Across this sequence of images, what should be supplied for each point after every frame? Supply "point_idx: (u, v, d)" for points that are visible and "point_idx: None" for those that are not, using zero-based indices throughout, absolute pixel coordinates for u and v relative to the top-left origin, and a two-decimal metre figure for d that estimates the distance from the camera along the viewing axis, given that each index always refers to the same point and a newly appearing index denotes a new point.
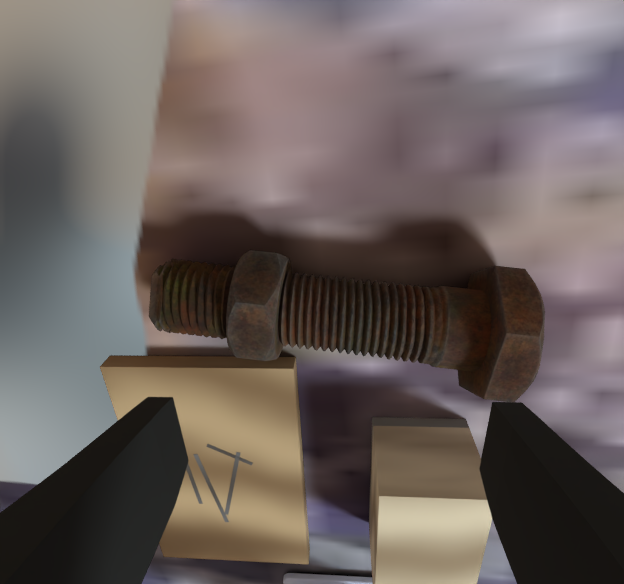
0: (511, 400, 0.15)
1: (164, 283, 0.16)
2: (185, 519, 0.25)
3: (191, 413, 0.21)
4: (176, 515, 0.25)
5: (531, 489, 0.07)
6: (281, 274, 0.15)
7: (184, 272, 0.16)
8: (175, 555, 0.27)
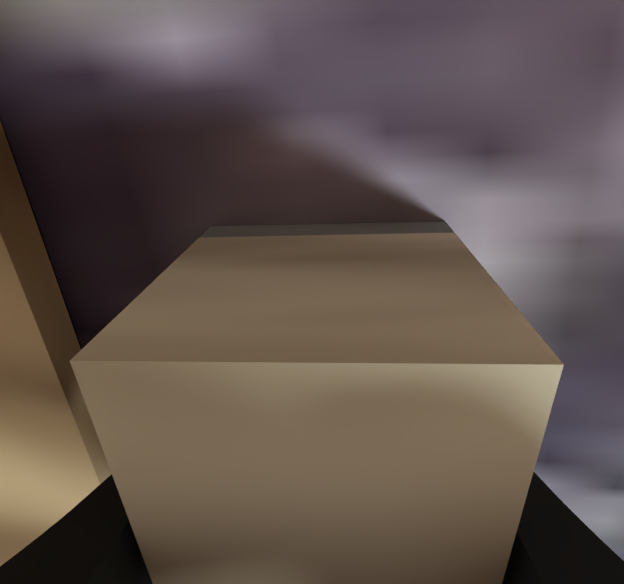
0: None
1: None
2: None
3: None
4: None
5: None
6: None
7: None
8: None
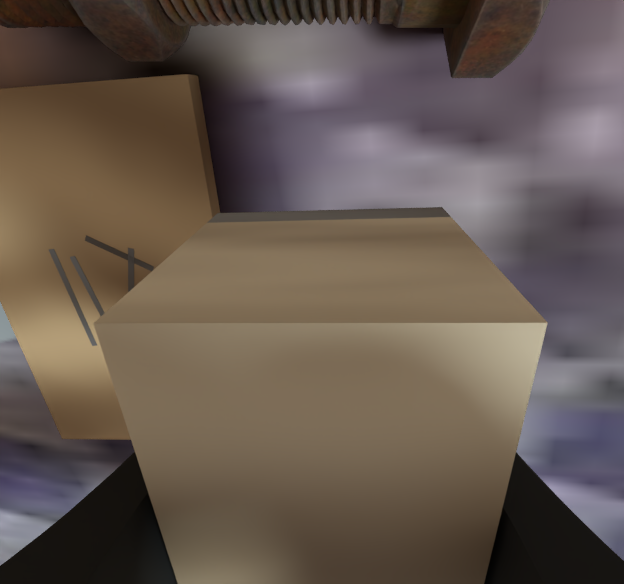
0: None
1: None
2: (78, 374, 0.19)
3: (53, 178, 0.15)
4: (65, 368, 0.19)
5: None
6: None
7: None
8: (76, 435, 0.20)
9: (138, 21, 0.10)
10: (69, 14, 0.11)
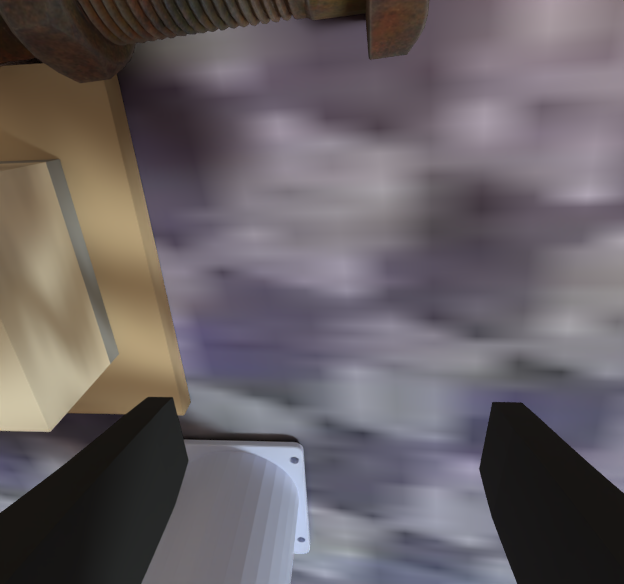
0: None
1: None
2: None
3: None
4: None
5: (531, 489, 0.07)
6: None
7: None
8: None
9: (78, 46, 0.11)
10: (22, 48, 0.12)
